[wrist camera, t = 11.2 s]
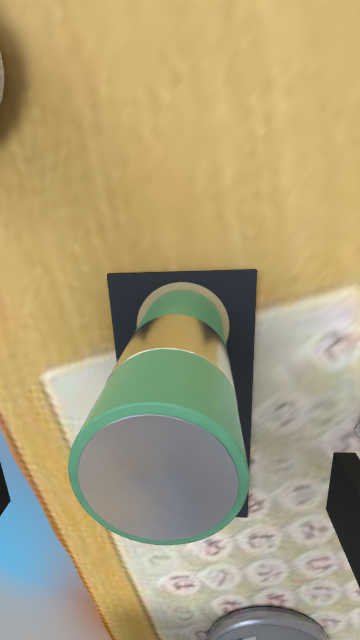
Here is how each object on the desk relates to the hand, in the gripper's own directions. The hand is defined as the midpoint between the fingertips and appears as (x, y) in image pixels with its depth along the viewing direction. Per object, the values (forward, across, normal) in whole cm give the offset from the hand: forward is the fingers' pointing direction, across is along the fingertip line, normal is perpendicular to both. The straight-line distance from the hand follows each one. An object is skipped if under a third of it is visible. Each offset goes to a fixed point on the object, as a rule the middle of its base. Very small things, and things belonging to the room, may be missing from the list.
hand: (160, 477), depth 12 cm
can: (+7, 0, +3) cm, 8 cm away
